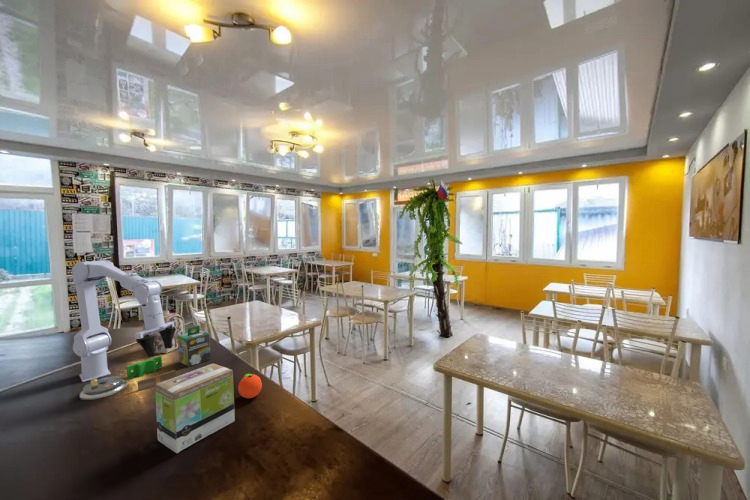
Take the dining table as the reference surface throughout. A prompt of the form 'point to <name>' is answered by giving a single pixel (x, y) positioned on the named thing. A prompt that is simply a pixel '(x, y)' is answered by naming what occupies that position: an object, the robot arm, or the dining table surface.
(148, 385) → the bar
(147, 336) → the robot arm
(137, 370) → the pipe clamp
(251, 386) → the clementine
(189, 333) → the chalk box
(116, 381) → the index disc
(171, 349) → the decorative jar
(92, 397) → the base plate
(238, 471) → the dining table surface
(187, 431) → the tea box
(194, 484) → the dining table surface
